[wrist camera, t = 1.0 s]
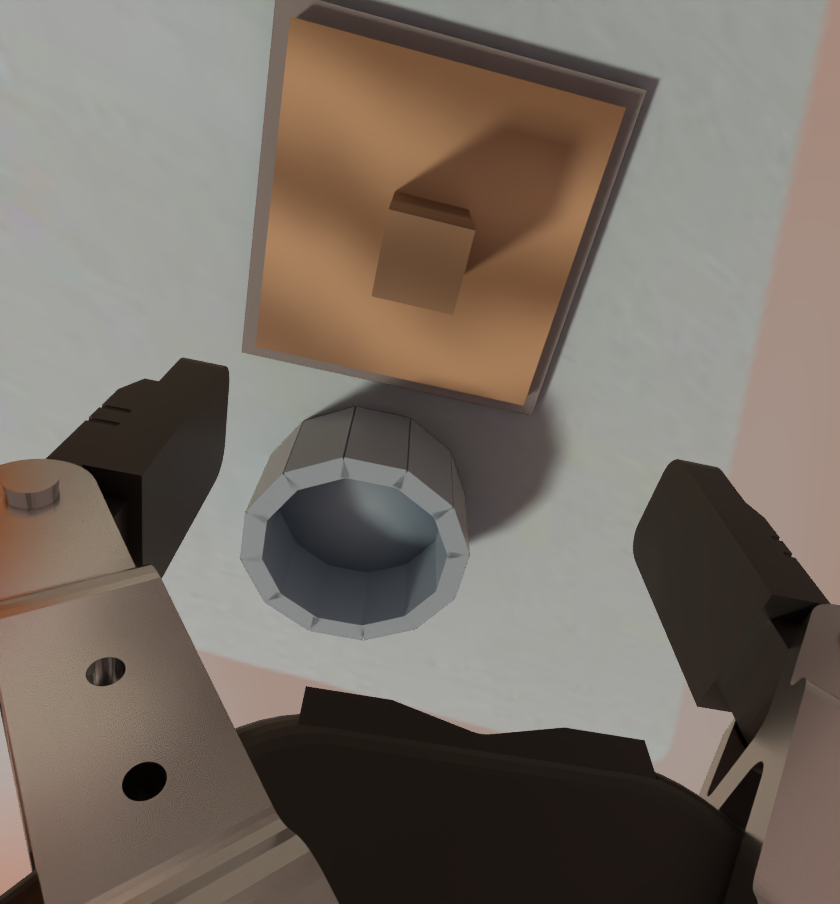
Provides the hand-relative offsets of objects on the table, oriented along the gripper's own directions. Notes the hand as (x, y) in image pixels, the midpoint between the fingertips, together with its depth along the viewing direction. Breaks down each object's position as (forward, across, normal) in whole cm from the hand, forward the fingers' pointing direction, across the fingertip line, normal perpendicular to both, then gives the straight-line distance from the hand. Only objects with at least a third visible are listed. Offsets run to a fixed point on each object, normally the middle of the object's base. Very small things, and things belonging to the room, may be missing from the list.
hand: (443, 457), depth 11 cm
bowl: (+18, +1, +14) cm, 23 cm away
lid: (+18, +1, 0) cm, 18 cm away
